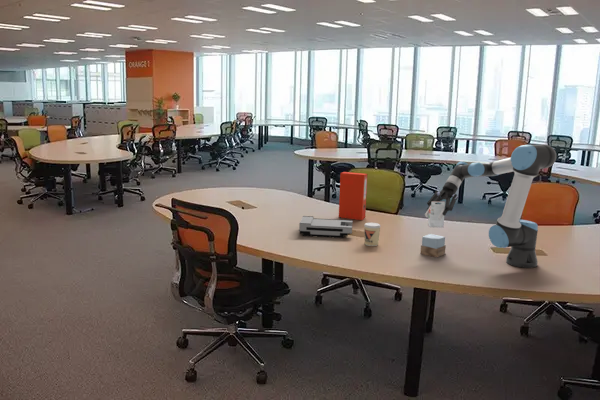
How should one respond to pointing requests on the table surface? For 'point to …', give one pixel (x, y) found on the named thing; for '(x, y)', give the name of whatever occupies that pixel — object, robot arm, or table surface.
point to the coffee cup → (371, 233)
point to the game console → (325, 227)
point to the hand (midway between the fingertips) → (432, 217)
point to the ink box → (436, 214)
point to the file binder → (352, 195)
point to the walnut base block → (433, 251)
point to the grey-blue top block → (433, 241)
